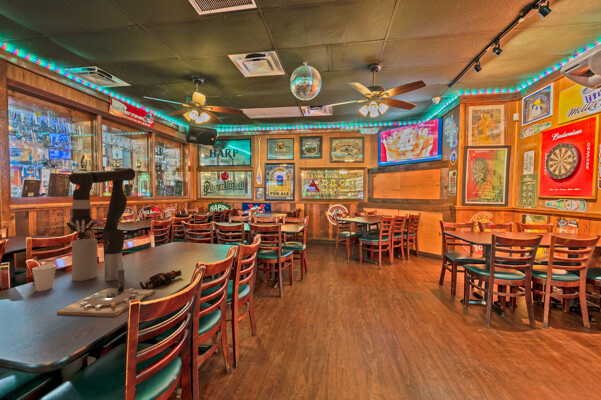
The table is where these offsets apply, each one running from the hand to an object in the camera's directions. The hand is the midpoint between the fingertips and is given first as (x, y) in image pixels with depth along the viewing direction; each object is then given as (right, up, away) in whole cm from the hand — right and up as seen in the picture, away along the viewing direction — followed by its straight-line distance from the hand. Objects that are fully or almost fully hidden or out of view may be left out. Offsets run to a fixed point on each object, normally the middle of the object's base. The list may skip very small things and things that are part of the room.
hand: (81, 238), depth 136 cm
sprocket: (+24, -30, -10) cm, 40 cm away
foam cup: (-27, -31, +6) cm, 41 cm away
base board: (+24, -32, -10) cm, 41 cm away
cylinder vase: (-20, -30, +25) cm, 44 cm away
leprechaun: (+35, -32, +17) cm, 50 cm away
